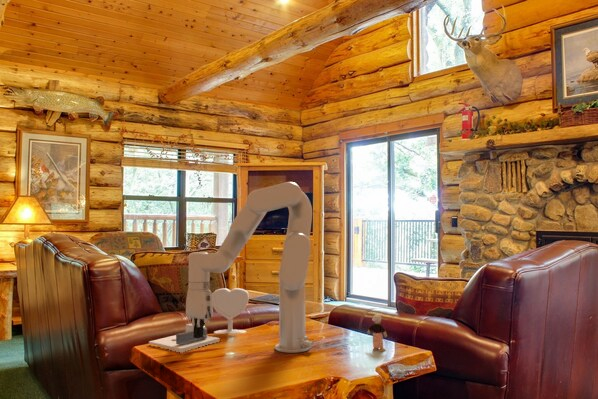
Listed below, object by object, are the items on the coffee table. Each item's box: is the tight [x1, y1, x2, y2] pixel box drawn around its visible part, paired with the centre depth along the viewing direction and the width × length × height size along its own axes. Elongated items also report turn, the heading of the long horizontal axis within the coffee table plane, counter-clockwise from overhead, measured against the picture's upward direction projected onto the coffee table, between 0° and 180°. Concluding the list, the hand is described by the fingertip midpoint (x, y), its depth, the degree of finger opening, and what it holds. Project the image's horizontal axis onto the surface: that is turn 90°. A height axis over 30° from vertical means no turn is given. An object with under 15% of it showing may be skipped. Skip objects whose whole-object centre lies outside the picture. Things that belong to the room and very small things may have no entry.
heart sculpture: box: [211, 287, 250, 334], centre depth 206 cm, size 16×5×18 cm, turn 91°
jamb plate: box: [148, 323, 221, 354], centre depth 186 cm, size 18×19×6 cm
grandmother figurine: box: [366, 313, 388, 353], centre depth 175 cm, size 8×4×13 cm, turn 65°
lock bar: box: [175, 326, 208, 345], centre depth 183 cm, size 14×3×4 cm, turn 144°
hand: (198, 337), depth 177 cm, fingers closed
